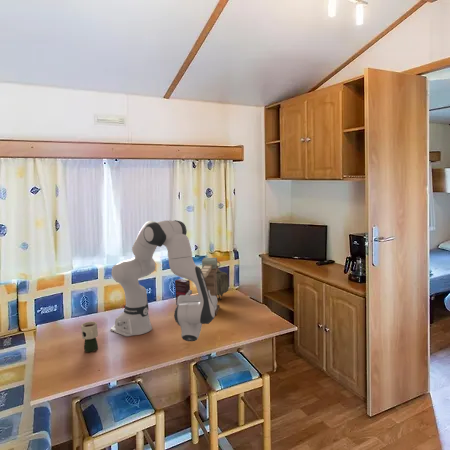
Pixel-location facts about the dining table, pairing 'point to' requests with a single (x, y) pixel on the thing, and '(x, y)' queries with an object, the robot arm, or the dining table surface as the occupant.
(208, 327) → the dining table surface
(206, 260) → the mallet
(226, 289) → the tabletop clock
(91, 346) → the character mug
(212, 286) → the walnut shelf
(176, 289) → the supplement box
